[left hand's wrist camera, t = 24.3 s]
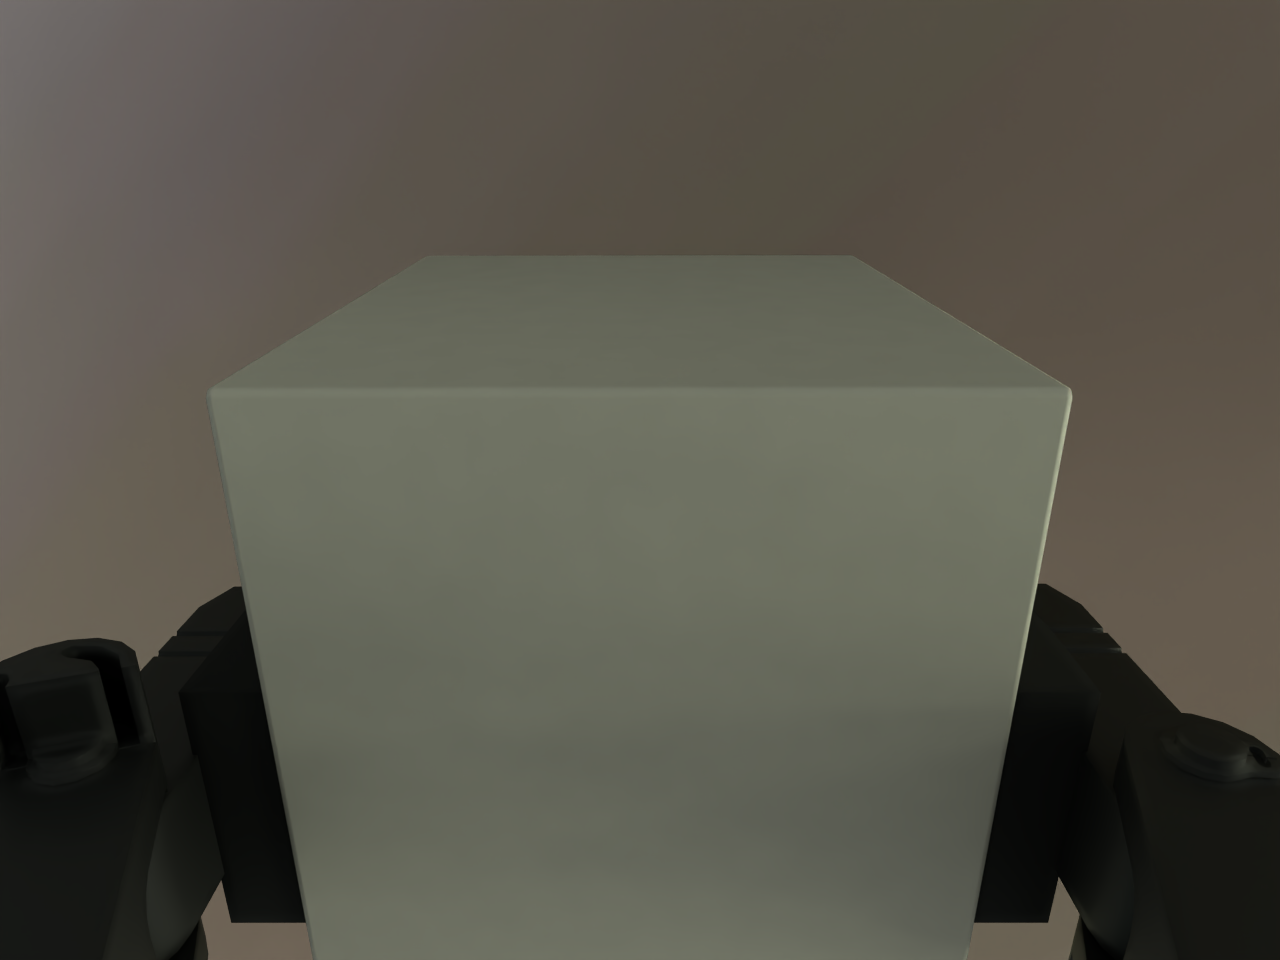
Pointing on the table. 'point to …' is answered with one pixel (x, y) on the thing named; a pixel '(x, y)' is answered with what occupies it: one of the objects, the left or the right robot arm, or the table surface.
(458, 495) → the block
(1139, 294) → the table surface
